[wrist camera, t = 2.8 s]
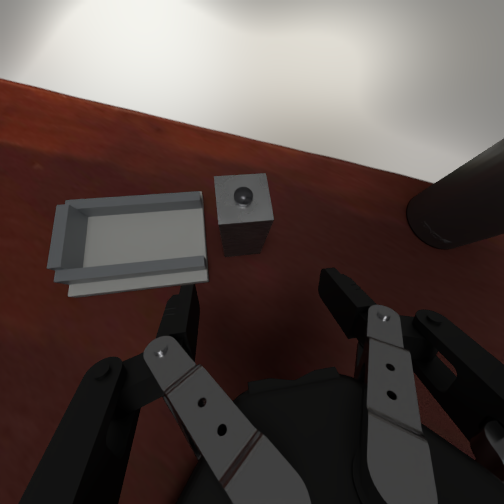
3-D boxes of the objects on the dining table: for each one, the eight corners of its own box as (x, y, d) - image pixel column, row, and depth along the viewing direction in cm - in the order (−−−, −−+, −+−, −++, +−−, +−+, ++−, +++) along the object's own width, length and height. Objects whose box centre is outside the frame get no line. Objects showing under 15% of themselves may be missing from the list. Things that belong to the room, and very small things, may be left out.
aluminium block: (255, 221, 28) (266, 170, 18) (260, 253, 26) (274, 217, 16) (221, 224, 27) (213, 173, 17) (224, 257, 26) (218, 222, 16)
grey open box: (202, 196, 28) (197, 177, 24) (208, 281, 25) (203, 275, 21) (86, 204, 26) (60, 185, 22) (76, 297, 23) (42, 294, 19)
